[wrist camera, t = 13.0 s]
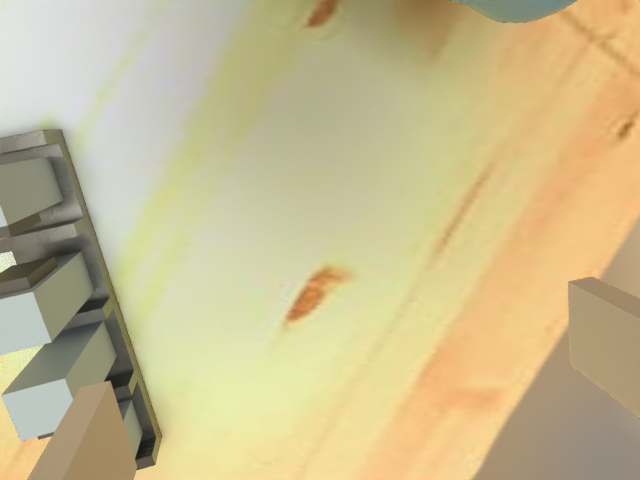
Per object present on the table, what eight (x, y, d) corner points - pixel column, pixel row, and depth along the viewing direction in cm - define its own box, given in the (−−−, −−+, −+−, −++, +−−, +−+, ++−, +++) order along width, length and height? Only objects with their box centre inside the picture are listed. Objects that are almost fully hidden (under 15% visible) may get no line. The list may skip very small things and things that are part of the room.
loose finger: (55, 331, 41) (1, 395, 31) (103, 319, 41) (64, 378, 32) (72, 376, 42) (25, 451, 33) (119, 364, 43) (86, 433, 33)
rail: (-18, 145, 38) (-46, 147, 34) (61, 129, 39) (42, 130, 35) (97, 454, 46) (84, 484, 42) (161, 436, 46) (155, 464, 43)
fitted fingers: (-5, 167, 37) (-88, 182, 28) (49, 156, 38) (-14, 167, 28) (97, 444, 44) (59, 534, 34) (142, 432, 44) (117, 518, 35)
